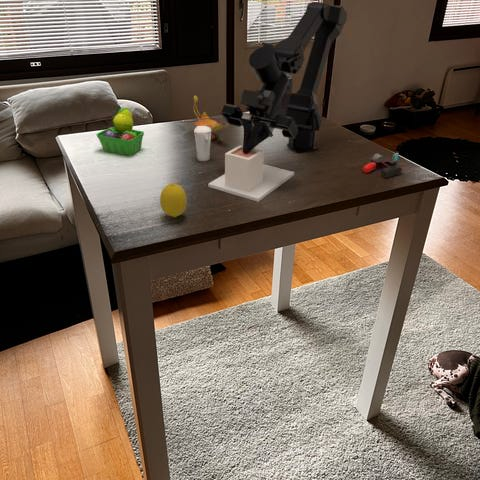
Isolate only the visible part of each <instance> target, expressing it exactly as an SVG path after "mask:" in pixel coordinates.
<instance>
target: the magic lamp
mask: <svg viewBox="0 0 480 480" xmlns="http://www.w3.org/2000/svg"><path fill="white" fill-rule="evenodd" d="M198 99H199V98H198V96H197V95H194V96H193V102H194V105H193V113H194V114H195V115H196V118H197V119H198V120H197V121H195V123H194V125H195V126H194V127H195V128H196V127H197V126H207V127H209V128H210V129H211V140H213V139H215V138H216V136H215V135H214V134H213V132H218V131H219V130H220V129H222V128H223V127H225V126H228V124H229V123H228V122H226V123H219V122H218V121H216V120H214V119H210V117H209V115H207V112H206V111H203V113H202V114H200V112H199V110H198V107H197V102H198V101H199V100H198ZM200 117H201V118H200ZM213 125H214V126H213ZM212 127H213V128H212Z"/></svg>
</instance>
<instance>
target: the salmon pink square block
mask: <svg viewBox="0 0 480 480" xmlns="http://www.w3.org/2000/svg"><path fill="white" fill-rule="evenodd" d="M234 154H235V155H239V156H242V157H246V158H249V157H251V156H252V155H254V154H256V153H255V152H251V151H250V152H249V153H248V154H245V153H243V149H241V150H239V151H238V152H236V153H234Z"/></svg>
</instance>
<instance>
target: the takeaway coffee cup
mask: <svg viewBox="0 0 480 480" xmlns="http://www.w3.org/2000/svg"><path fill="white" fill-rule="evenodd" d="M213 126H214V125H213ZM212 128H213V127H212ZM193 132H194V140H195V147H196V157H197V161H200V162H208V161H210V157H211V156H210V153H211V140H212V139H211V134H212V132H211V129H210V128H209V127H207V126H197V127H196V126H195V128H194V130H193Z"/></svg>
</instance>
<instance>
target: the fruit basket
mask: <svg viewBox="0 0 480 480" xmlns="http://www.w3.org/2000/svg"><path fill="white" fill-rule="evenodd" d="M129 109H130V108H128V107H121V108H120V109H119V110H118V112H117V114H116V115H115V116H114V118H113V120H112V122H113V125H114V126H112V127H108V128H106V129H103V130H102V131H100V132H97V134H95V135H96V138H97V139H98V140H99V143H100V145H101V147H102V149H103V151H104V152H108V153H113V154H119V155H126V156H129V157H131V156H133V155H134V154H136V153H137V152H139V151H141V149H142V145H143V144H142V143H143V139H144V135H145V132H144V131H142V130H135V129H133V128H134V120H133V114H132V112H131V110H129Z"/></svg>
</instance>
